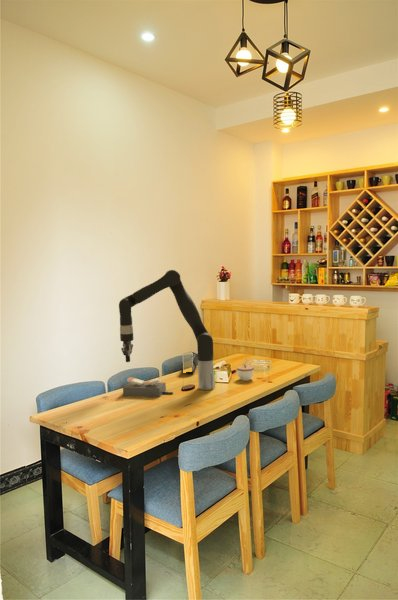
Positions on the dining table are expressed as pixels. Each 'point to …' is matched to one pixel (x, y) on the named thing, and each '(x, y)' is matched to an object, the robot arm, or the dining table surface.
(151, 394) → the switch box
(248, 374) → the lidded jar
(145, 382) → the rocker inner
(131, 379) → the rocker outer
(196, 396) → the dining table surface
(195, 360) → the clear pitcher
